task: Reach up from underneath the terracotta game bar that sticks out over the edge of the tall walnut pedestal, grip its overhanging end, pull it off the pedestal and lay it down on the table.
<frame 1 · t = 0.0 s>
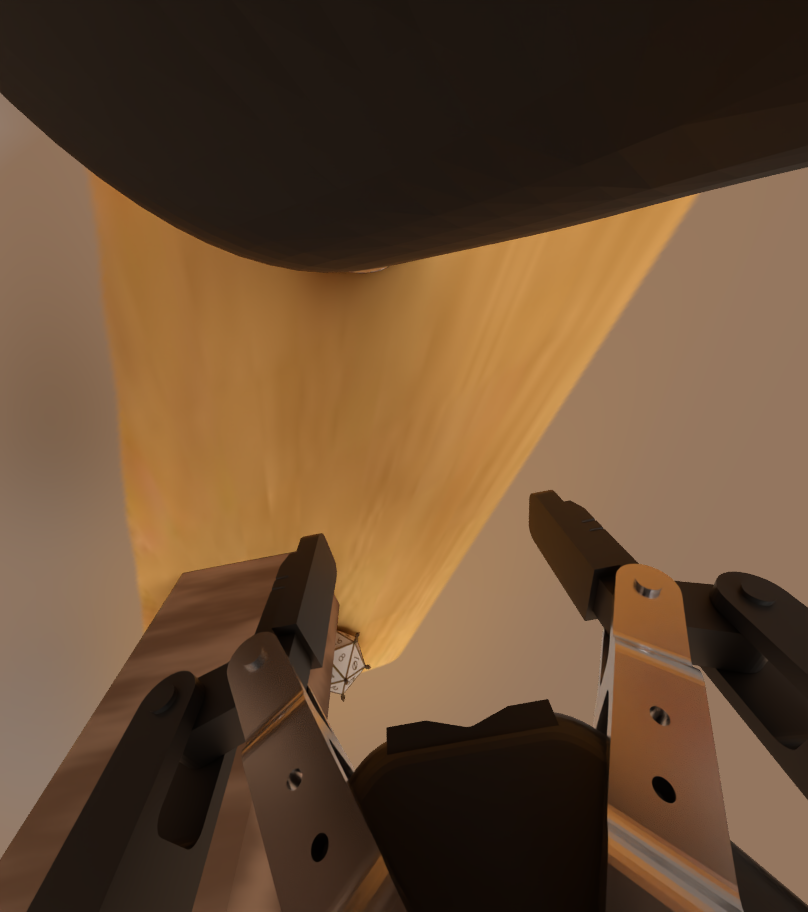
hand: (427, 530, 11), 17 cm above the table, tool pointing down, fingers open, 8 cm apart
game die: (340, 630, 46), on the table
walnut pedestal: (267, 590, 39), on the table
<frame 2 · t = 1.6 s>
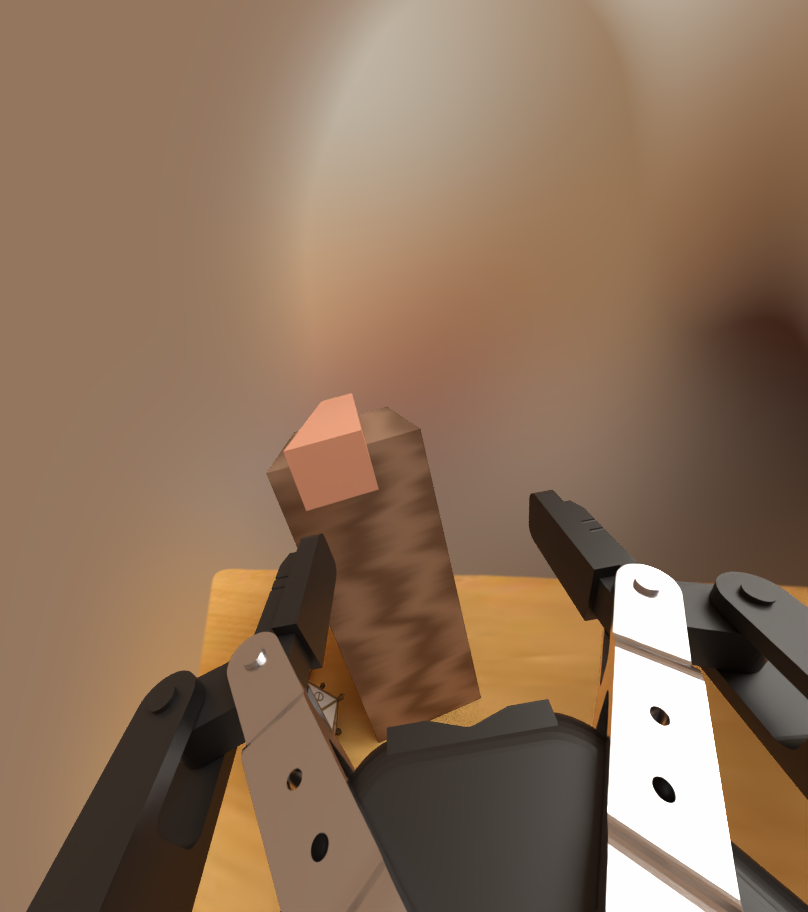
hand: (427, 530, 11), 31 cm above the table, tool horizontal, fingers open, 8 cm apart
game die: (316, 749, 33), on the table
terracotta bar: (344, 444, 24), point 32 cm above the table, touching walnut pedestal
walnut pedestal: (413, 654, 40), on the table
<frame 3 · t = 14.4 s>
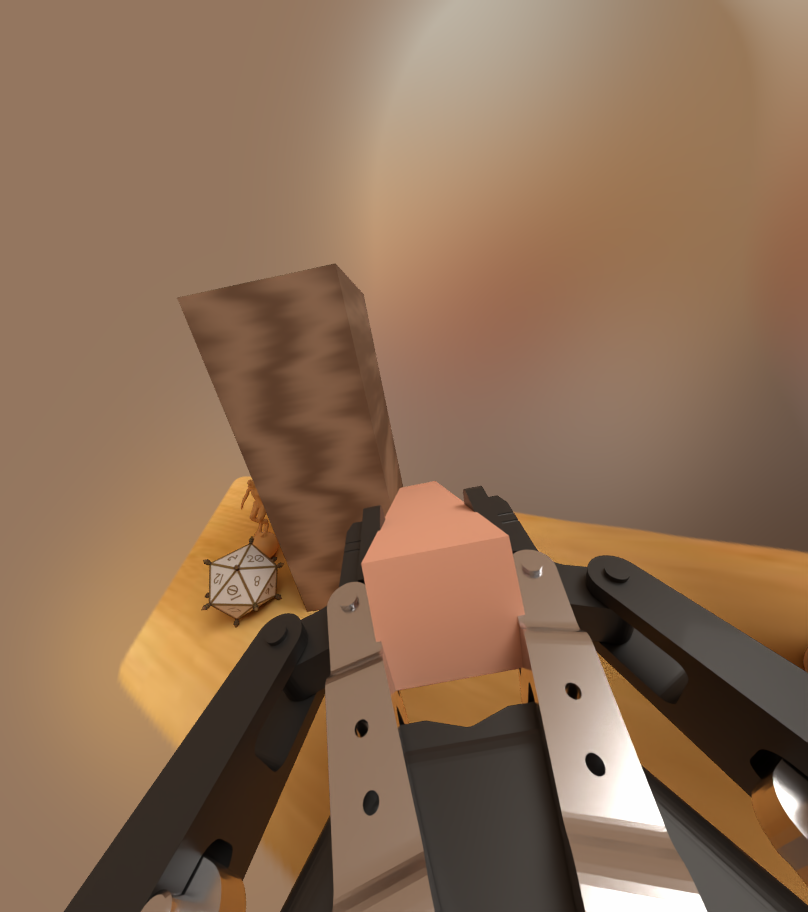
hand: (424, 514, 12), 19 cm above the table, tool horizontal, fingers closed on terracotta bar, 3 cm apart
game die: (257, 606, 36), on the table
terracotta bar: (430, 546, 18), point 15 cm above the table, tilted 23°, touching gripper
figurine: (274, 552, 45), on the table
walnut pedestal: (367, 555, 40), on the table
when the fingers open (9 cm above the table, at t = 17.0 s): terracotta bar drops 5 cm, on the table.
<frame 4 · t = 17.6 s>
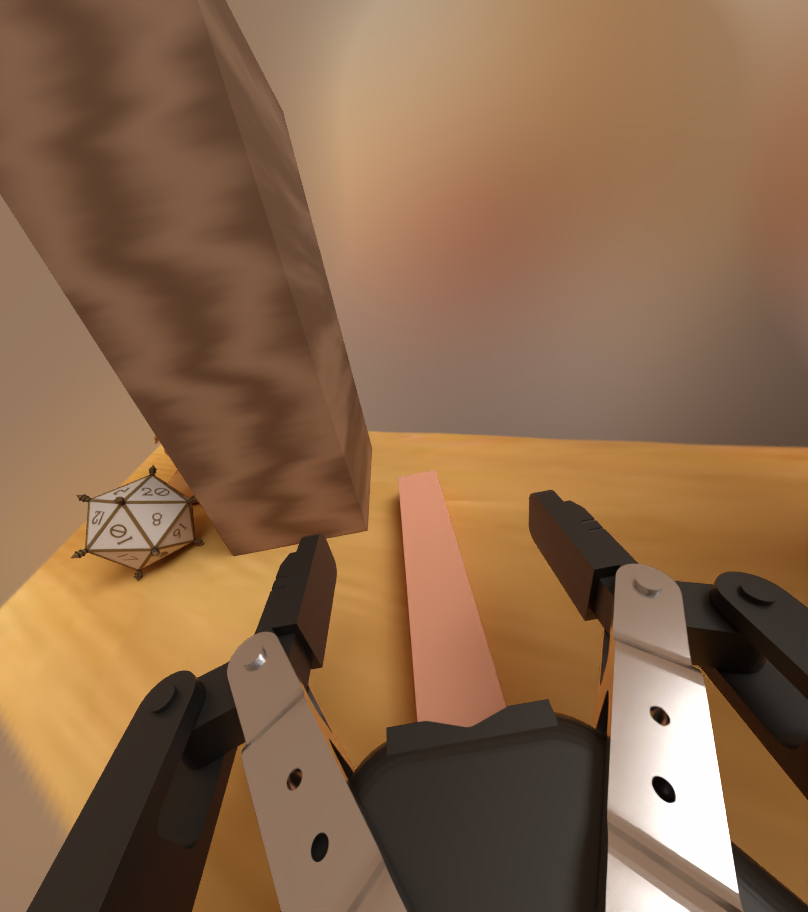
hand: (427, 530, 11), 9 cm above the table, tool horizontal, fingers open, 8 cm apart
game die: (172, 555, 28), on the table
terracotta bar: (440, 602, 19), on the table
figurine: (206, 496, 37), on the table
walnut pedestal: (317, 490, 33), on the table
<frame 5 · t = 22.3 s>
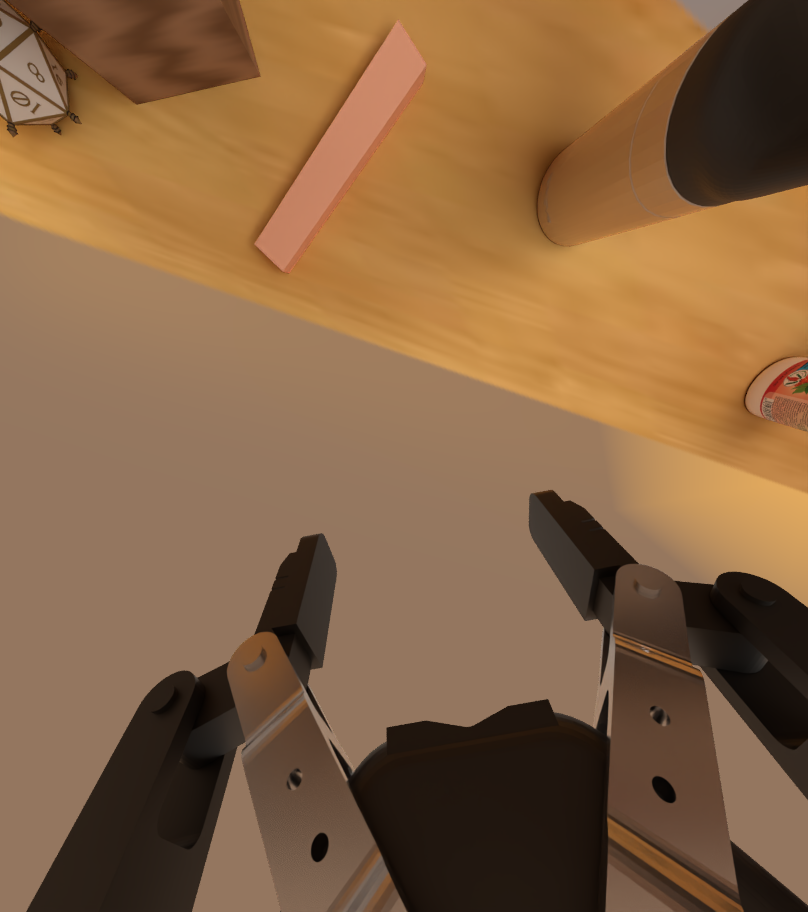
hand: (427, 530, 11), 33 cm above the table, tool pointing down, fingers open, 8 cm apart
game die: (52, 91, 27), on the table
terracotta bar: (336, 173, 31), on the table
fruit juice: (772, 386, 47), on the table
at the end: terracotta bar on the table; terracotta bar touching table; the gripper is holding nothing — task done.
